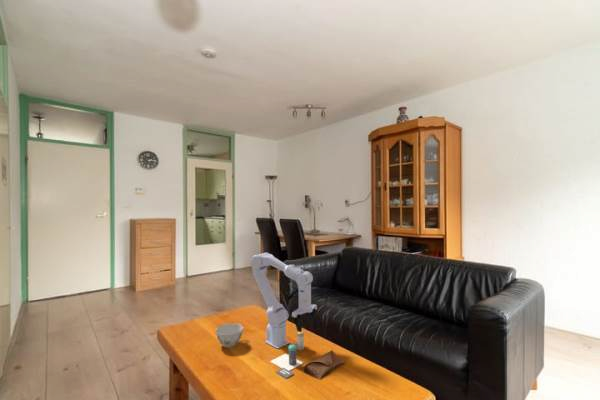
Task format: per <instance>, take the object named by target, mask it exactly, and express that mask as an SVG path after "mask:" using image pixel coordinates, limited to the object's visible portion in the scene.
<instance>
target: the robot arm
mask: <svg viewBox="0 0 600 400" xmlns="http://www.w3.org/2000/svg"><path fill="white" fill-rule="evenodd" d="M249 264H250V266H251V268H252V275H253V277H254V280H255V282H256V284H257V286H258V289H259V291H260V294H261V295H262V298H263V301H264V302H265V304H266V307H267V310H266V313H265V314H266V317H267V322H268V324H267V326H266V340H265V341H264V343H265V344H268V345H270V346H272V347H274V348H276V349H280V348H282V347H284V346H287V345H288V344H289V345H290V343H291V341H289V340H287V329H286V328H287V321H288V319H289V316H290V315H289V312H288V310H287V309H286V308H285V307H284V304H282V303H280V302H279V301H278V299H277V297H276V295H275V293H274V291H273V288H272V286H271V284H270V281H269V279H268V277H267V275H266V271H267V268H268V267H269V266H271V267H274V268H275V269H277V270H279V271H281V272H283V273H284V276H286V277H287V278H288V279H290V280H293V281H295V282H296V284H297V289H298V308H297V309H295V310H294V311H292V312H291V318H292V320H293V322H294V324H295V328H296V331H297V332H301V331H302V330H303V321H304V317H303V316H302V315H303V314H306V315H307V323H308V326H309V327H311V328H312V327H314V324H315V323H314V322H315V319H316V318H317V317H316V316H317V314H318V310H317V309H318V305H317V304H312V282H313V280H314V277H313V274H312V273H311V272H310V271H309V270H308V271H307V270H305V271H304V270H303V269H300V268H299V267H297V266H296V265H295V264H286V263H284V262H283V261H281V260H279V259H278V258H277V257H275V256H274V255H273V254H271V253H269V252H263V253H259V254H254V255H252V257H251V260H250V262H249ZM302 332H303V331H302Z"/></svg>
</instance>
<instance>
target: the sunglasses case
mask: <svg viewBox="0 0 600 400" xmlns="http://www.w3.org/2000/svg"><path fill="white" fill-rule="evenodd" d="M345 364H346V361H344V360H343V359H341V357H339V355H337V354H336V353H335V352H334V351H333V349H331V350H330V351H328V352H326V353H324V354H322V355H320V356H318V357H317V358H315V359H313V360H311V361H310V362H307V363H306V364H305V365H304V366H303V372H304V374H306V375H308V376H310V377H312V378H314V379H316V380H319V381H321V380H322V379H323V378H325V376H327V375H328V374H329V373H331V372H332V371H334V370H336V369H337V368H339V367H340V366H343V365H345Z"/></svg>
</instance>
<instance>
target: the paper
mask: <svg viewBox="0 0 600 400" xmlns="http://www.w3.org/2000/svg"><path fill="white" fill-rule="evenodd" d="M296 360H297V364H296V365H289V353H284V354H282V355H280V356H277V357H276V358H273V359H272V360H270V361H269V362H270V363H271V364H273V365H274V366H276V367H278V368H280V369H282V368H285V369H287V370H288V371H290V372H292V370H294V369H295V368H297V367H299V366H302V365H303V364H304V362H303V361H301V360H299V359H298V358H296Z"/></svg>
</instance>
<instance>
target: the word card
mask: <svg viewBox="0 0 600 400" xmlns="http://www.w3.org/2000/svg"><path fill="white" fill-rule="evenodd" d="M275 373H276V374H277V375H279V376H281V377H283V378H284V379H285V380H286V379H289V378H290V377H293V376H294V372H292V371H288V370H287V369H285V368H282V369H281V368H280V369H279V370H277V371H275Z"/></svg>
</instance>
